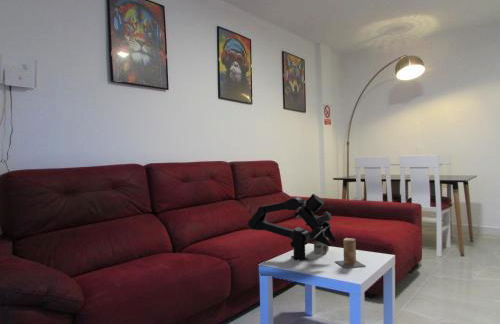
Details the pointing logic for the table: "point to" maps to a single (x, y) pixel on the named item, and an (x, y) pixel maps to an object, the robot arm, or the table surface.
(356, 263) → the mat
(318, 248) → the coffee box
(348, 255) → the walnut block
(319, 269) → the table surface
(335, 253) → the table surface
